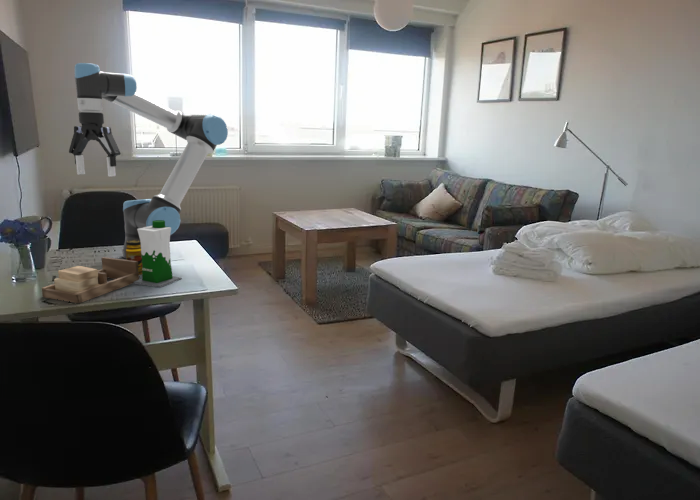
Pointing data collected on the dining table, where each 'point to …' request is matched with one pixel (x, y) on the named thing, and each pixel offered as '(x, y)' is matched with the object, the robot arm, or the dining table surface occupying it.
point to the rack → (100, 281)
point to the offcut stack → (76, 279)
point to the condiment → (134, 253)
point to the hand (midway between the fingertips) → (96, 175)
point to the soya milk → (155, 252)
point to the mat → (157, 283)
